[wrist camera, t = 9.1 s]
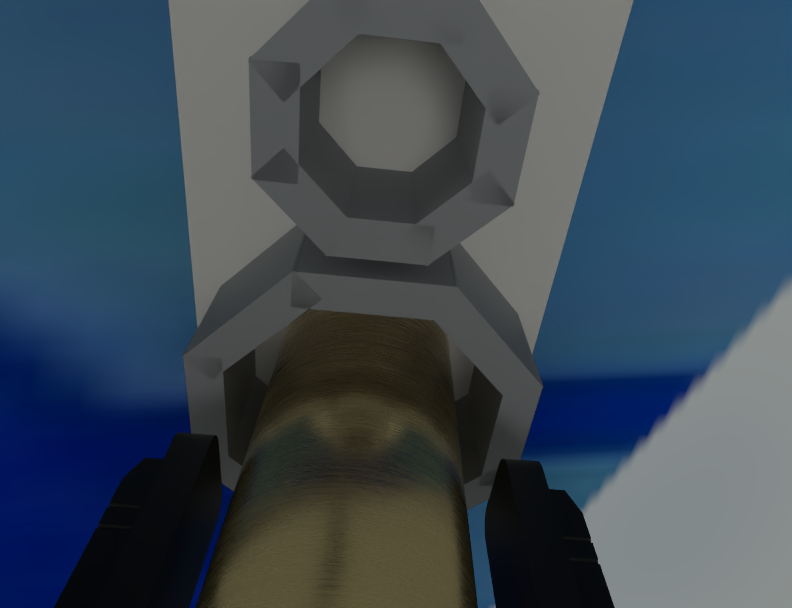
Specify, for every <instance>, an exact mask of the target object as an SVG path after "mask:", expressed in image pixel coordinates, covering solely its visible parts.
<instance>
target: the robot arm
mask: <svg viewBox="0 0 792 608" xmlns="http://www.w3.org/2000/svg"><path fill="white" fill-rule="evenodd" d="M221 498H222V479H221V465H220V452H219V440H218V437H217V436H216V435H206V434H193V433H180V432H179V433H177V434H176V435H175V436H174V438H173V440H172V442H171V444H170V446H169V449H168V451H167V453H166V455H165V457H164V459H155V458H144V459H143V460H142V461H141V462H140V463H139V464H138V465H137V466H136V467H134V468H133V469H132V470H131V471H130V472H129V473H128V474H127V475H126V476H125V477H123V479H122V481H121V482H120V484H119V486H118V488H117V490H116V492H115V494H114V496H113V497H112V499H111V501H110V505H109V508H107V509H106V511H105V512H104V514H103V516H102V518H101V520H100V522H99V526H98V528H96V529H95V531H94V533H93V535H92V537H91V539H90V541H89V543H88V544H87V546H86V548H85V550H84V552H83V554H82V556H81V558H80V559H79V561H78V563H77V565H76V567H75V569H74V571H73V573H72V575H71V576H70V578H69V580H68V582H67V584H66V586H65V588H64V590H63V591H62V593H61V595H60V597H59V599H58V601H57V603H56V605H55V606H54V608H189V606H190V603H191V600H192V597H193V594H194V591H195V588H196V584H197V581H198V578H199V575H200V572H201V569H202V566H203V563H204V560H205V557H206V553H207V550H208V547H209V544H210V541H211V538H212V535H213V532H214V529H215V525H216V522H217V519H218V515H219V511H220V506H221ZM485 539H486V546H487V553H488V559H489V565H490V572H491V578H492V585H493V591H494V598H495V604H496V608H615V607H614V605H613V602H612V599H611V596H610V593H609V590H608V587H607V584H606V581H605V578H604V575H603V572H602V569H601V566H600V564H598V557H597V555H596V552H595V549H594V546H593V543H591V537H590V534H589V531H588V528H587V525H586V522H585V519H584V516H583V513H582V512H581V510H580V509H579V508H578V507H577V505H576V504H575V503H574V502H573V500H572V499H571V498H570V496H569V495H568V494H567V493H566V491H565V490H553V489H549V488H548V485H547V481H546V478H545V475H544V471H543V468H542V466H541V464H540V462H538V461H527V460H514V459H501V460H500V462H499V465H498V469H497V472H496V476H495V479H494V483H493V486H492V490H491V493H490V497H489V500H488V504H487V508H486V514H485Z"/></svg>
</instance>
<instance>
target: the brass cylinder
mask: <svg viewBox="0 0 792 608" xmlns="http://www.w3.org/2000/svg"><path fill="white" fill-rule="evenodd" d="M196 608H478V606H477V597H476V588H475V579H474V569H473V560H472V551H471V542H470V533H469V524H468V515H467V506H466V497H465V488H464V479H463V470H462V461H461V452H460V443H459V434H458V425H457V416H456V407H455V397H454V388H453V379H452V370H451V361H450V352H449V343H448V337H447V334H446V333H445V332H444V331H443V330H442V328H441V327H440V326H439V325H438V324H437V323H436V322H435V321H434V320H425V319H414V318H403V317H392V316H381V315H370V314H359V313H348V312H337V311H326V310H315V309H308V310H307V311H305V312H304V313H303V314H301V315H300V316H299V317H297V318H296V319H294V320H293V321H292V322H290V323H289V325H288V328H287V331H286V334H285V337H284V340H283V343H282V346H281V349H280V352H279V355H278V358H277V361H276V364H275V367H274V371H273V374H272V377H271V380H270V383H269V386H268V389H267V392H266V395H265V398H264V401H263V404H262V407H261V410H260V413H259V416H258V419H257V422H256V426H255V429H254V432H253V435H252V438H251V441H250V444H249V447H248V450H247V453H246V456H245V459H244V462H243V465H242V468H241V471H240V474H239V477H238V481H237V484H236V487H235V490H234V493H233V496H232V499H231V502H230V505H229V508H228V511H227V514H226V517H225V520H224V523H223V526H222V529H221V532H220V536H219V539H218V542H217V545H216V548H215V551H214V554H213V557H212V560H211V563H210V566H209V569H208V572H207V575H206V578H205V581H204V584H203V587H202V591H201V594H200V597H199V600H198V603H197V606H196Z"/></svg>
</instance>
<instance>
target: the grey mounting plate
mask: <svg viewBox="0 0 792 608" xmlns="http://www.w3.org/2000/svg"><path fill="white" fill-rule="evenodd" d="M632 4H633V0H169V11H170V22H171V34H172V45H173V57H174V68H175V79H176V91H177V102H178V113H179V125H180V136H181V147H182V159H183V170H184V181H185V193H186V204H187V216H188V227H189V238H190V250H191V261H192V272H193V284H194V295H195V306H196V318H197V330H196V332H195V334H194V336H193V338H192V339H191V341H190V343H189V345H188V347H187V349H186V350H185V352H184V354H183V356H182V357H183V359H184V369H185V378H186V387H187V397H188V406H189V415H190V425H191V433H193V434H206V435H216V436H217V437H218V440H219V452H220V465H221V479H222V484H224V485H225V486H227V487H228V488H229V489H231V490H232V491H234V490H235V487H236V484H237V481H238V477H239V474H240V471H241V468H242V465H243V462H244V459H245V456H246V453H247V450H248V447H249V444H250V441H251V438H252V435H253V432H254V429H255V426H256V422H257V419H258V416H259V413H260V410H261V407H262V404H263V401H264V398H265V395H266V392H267V389H268V386H269V383H270V380H271V377H272V374H273V371H274V367H275V364H276V361H277V358H278V355H279V352H280V349H281V346H282V343H283V340H284V337H285V334H286V331H287V328H288V325H289V323H290V322H292V321H293V320H294V319H296V318H297V317H299V316H300V315H301V314H303V313H304V312H305V311H307V310H308V309H315V310H326V311H337V312H348V313H359V314H370V315H381V316H392V317H403V318H414V319H425V320H434V321H435V322H436V323H437V324H438V325H439V326H440V327H441V328H442V330H443V331H444V332H445V333H446V334H447V337H448V343H449V352H450V361H451V370H452V379H453V388H454V397H455V407H456V416H457V425H458V434H459V443H460V452H461V461H462V470H463V479H464V488H465V497H466V506H467V510H468V509H470V508H472V507H474V506H476V505H478V504H480V503H482V502H484V501H486V500H488V499H489V497H490V493H491V490H492V486H493V483H494V479H495V476H496V472H497V469H498V465H499V462H500V460H501V459H514V460H520V459H521V455H522V452H523V449H524V446H525V442H526V439H527V436H528V433H529V430H530V426H531V423H532V420H533V417H534V413H535V410H536V407H537V404H538V400H539V397H540V394H541V391H542V388H543V384H542V381H541V379H540V376H539V373H538V370H537V367H536V364H535V361H534V358H533V356H532V354H533V350H534V347H535V343H536V340H537V336H538V333H539V329H540V326H541V322H542V319H543V315H544V312H545V308H546V305H547V301H548V298H549V294H550V291H551V287H552V284H553V280H554V277H555V273H556V270H557V266H558V263H559V259H560V256H561V252H562V249H563V245H564V242H565V238H566V235H567V231H568V228H569V224H570V221H571V217H572V214H573V210H574V207H575V203H576V200H577V196H578V193H579V189H580V186H581V182H582V179H583V175H584V172H585V168H586V165H587V161H588V158H589V154H590V151H591V147H592V144H593V140H594V137H595V133H596V130H597V126H598V123H599V119H600V116H601V112H602V109H603V105H604V102H605V98H606V95H607V91H608V88H609V84H610V81H611V77H612V74H613V70H614V67H615V63H616V60H617V56H618V53H619V49H620V46H621V42H622V39H623V35H624V32H625V28H626V25H627V21H628V18H629V14H630V11H631V7H632Z"/></svg>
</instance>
